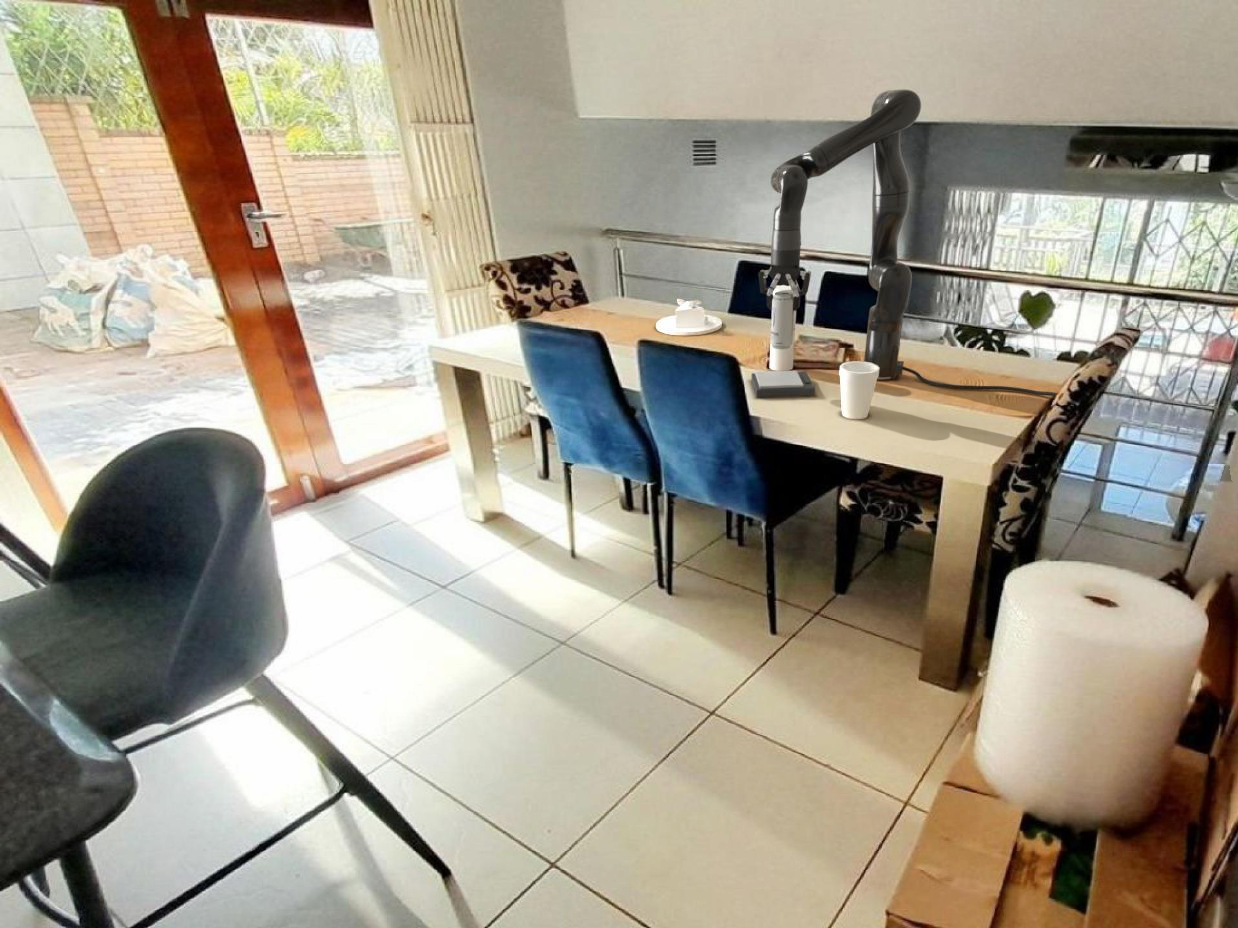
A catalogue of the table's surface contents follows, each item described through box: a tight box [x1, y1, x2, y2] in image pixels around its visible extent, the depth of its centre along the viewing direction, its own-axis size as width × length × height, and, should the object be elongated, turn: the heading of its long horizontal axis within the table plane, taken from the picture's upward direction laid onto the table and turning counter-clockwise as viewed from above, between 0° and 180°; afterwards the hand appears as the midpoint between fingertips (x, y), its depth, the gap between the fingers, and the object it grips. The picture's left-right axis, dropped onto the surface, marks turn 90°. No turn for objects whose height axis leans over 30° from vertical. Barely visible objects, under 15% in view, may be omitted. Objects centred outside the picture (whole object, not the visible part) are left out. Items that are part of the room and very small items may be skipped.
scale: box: [750, 370, 816, 399], centre depth 203 cm, size 16×14×3 cm
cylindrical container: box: [769, 285, 797, 371], centre depth 214 cm, size 7×7×25 cm
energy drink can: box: [770, 291, 794, 349], centre depth 194 cm, size 6×6×15 cm
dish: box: [655, 298, 723, 337], centre depth 264 cm, size 25×25×11 cm
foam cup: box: [839, 360, 879, 420], centre depth 181 cm, size 10×9×13 cm
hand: (783, 309), depth 193 cm, fingers closed on energy drink can, 6 cm apart
